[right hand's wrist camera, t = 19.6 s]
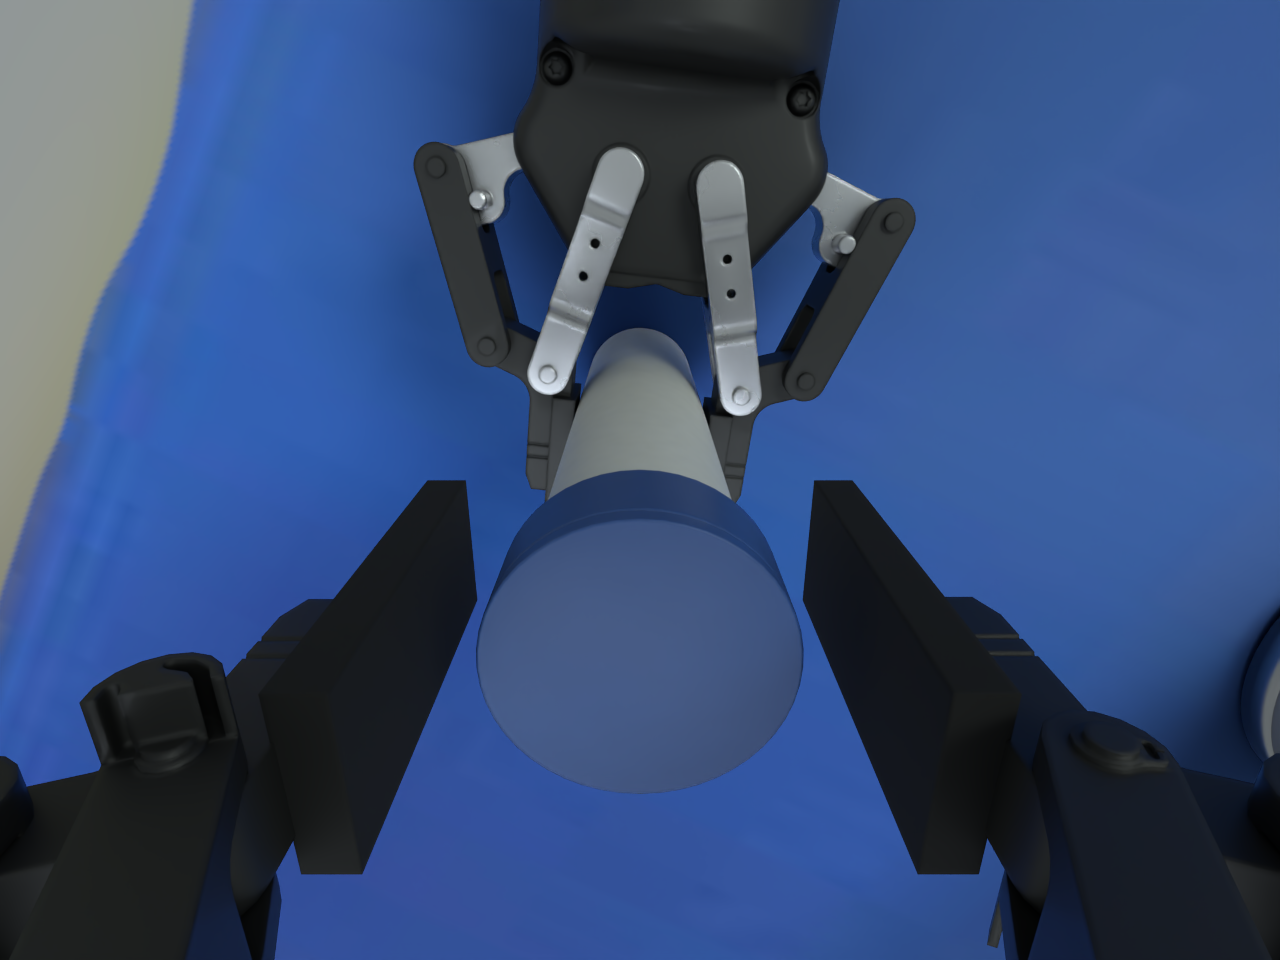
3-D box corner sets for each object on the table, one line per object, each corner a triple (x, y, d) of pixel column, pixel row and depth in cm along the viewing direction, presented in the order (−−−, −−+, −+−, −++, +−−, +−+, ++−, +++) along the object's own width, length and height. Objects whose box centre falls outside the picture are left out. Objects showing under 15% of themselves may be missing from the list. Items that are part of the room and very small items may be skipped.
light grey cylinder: (632, 306, 27) (618, 471, 10) (711, 371, 28) (824, 626, 11) (569, 386, 28) (458, 659, 11) (647, 446, 29) (657, 785, 12)
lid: (445, 553, 12) (408, 617, 10) (696, 415, 11) (707, 457, 9) (593, 748, 13) (586, 836, 11) (824, 641, 12) (857, 717, 11)
